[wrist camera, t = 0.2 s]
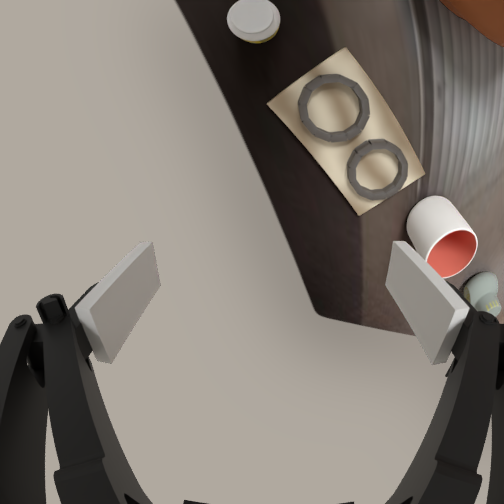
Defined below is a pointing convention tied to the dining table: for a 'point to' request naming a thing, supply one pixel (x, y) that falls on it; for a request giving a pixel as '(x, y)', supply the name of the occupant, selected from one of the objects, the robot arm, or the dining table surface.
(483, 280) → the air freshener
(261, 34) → the supplement bottle
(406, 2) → the dining table surface
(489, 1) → the potted plant
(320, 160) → the caddy
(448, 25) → the dining table surface
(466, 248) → the cup
